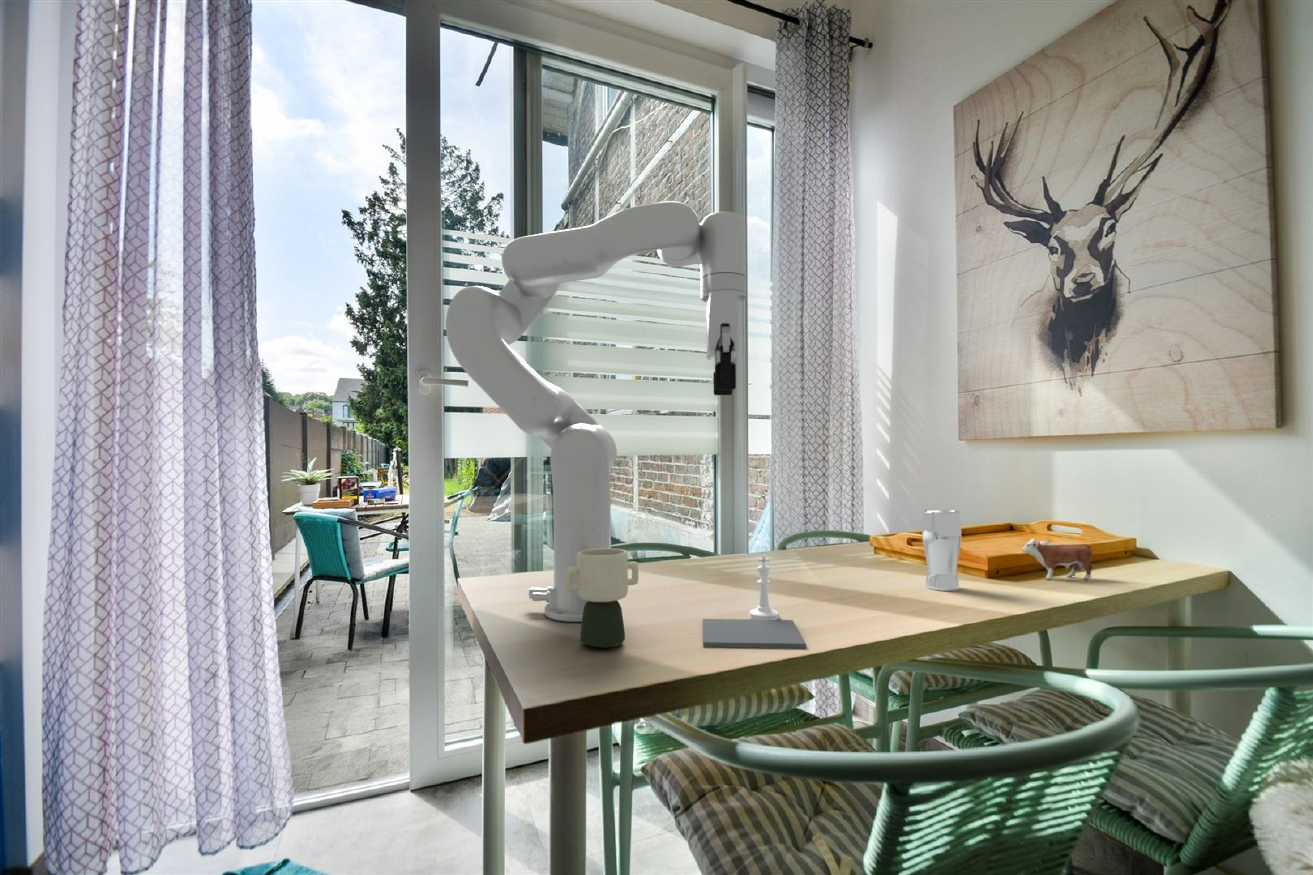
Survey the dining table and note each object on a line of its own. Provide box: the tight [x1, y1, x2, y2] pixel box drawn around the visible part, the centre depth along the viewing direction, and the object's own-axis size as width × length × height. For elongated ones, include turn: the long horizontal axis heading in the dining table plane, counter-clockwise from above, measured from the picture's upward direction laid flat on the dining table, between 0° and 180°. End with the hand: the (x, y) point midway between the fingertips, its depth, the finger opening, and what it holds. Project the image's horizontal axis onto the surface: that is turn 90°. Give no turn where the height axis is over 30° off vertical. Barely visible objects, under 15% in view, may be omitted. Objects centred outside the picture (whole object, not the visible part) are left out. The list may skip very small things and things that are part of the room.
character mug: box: [565, 547, 639, 648], centre depth 87 cm, size 11×7×13 cm, turn 115°
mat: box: [702, 618, 807, 649], centre depth 91 cm, size 14×12×1 cm
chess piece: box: [748, 554, 780, 620], centre depth 101 cm, size 5×5×10 cm
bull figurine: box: [1021, 538, 1093, 581], centre depth 130 cm, size 4×13×8 cm, turn 82°
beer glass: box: [921, 509, 962, 592], centre depth 122 cm, size 7×7×15 cm
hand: (724, 392), depth 103 cm, fingers open, 9 cm apart
